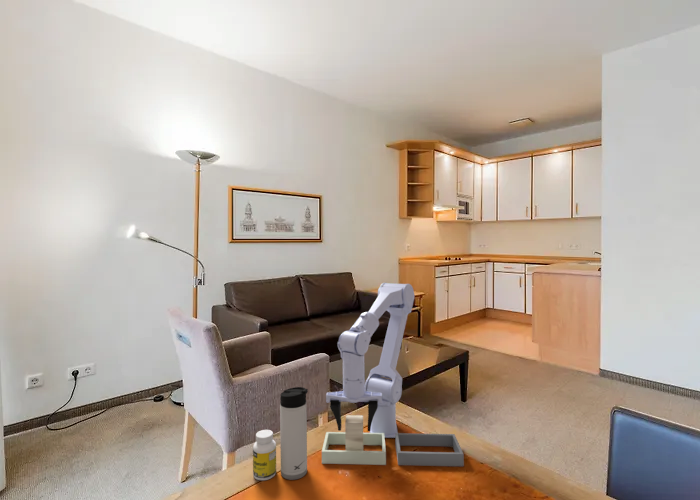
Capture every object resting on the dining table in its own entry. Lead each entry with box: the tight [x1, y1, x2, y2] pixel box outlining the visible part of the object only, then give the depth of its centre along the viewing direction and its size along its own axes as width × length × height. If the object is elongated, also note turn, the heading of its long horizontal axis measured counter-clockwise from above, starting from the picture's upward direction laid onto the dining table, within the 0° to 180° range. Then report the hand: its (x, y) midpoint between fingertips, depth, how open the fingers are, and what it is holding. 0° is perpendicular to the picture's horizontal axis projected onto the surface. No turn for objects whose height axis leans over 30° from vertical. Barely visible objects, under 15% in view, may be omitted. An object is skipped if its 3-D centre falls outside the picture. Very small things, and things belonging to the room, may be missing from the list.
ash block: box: [344, 414, 364, 451], centre depth 97 cm, size 4×4×9 cm
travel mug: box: [279, 386, 309, 481], centre depth 89 cm, size 6×7×20 cm
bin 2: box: [395, 432, 465, 467], centre depth 96 cm, size 10×16×3 cm, turn 87°
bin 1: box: [321, 431, 387, 466], centre depth 97 cm, size 10×16×3 cm, turn 87°
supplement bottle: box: [252, 429, 277, 481], centre depth 88 cm, size 5×5×10 cm
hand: (354, 429), depth 97 cm, fingers open, 7 cm apart
